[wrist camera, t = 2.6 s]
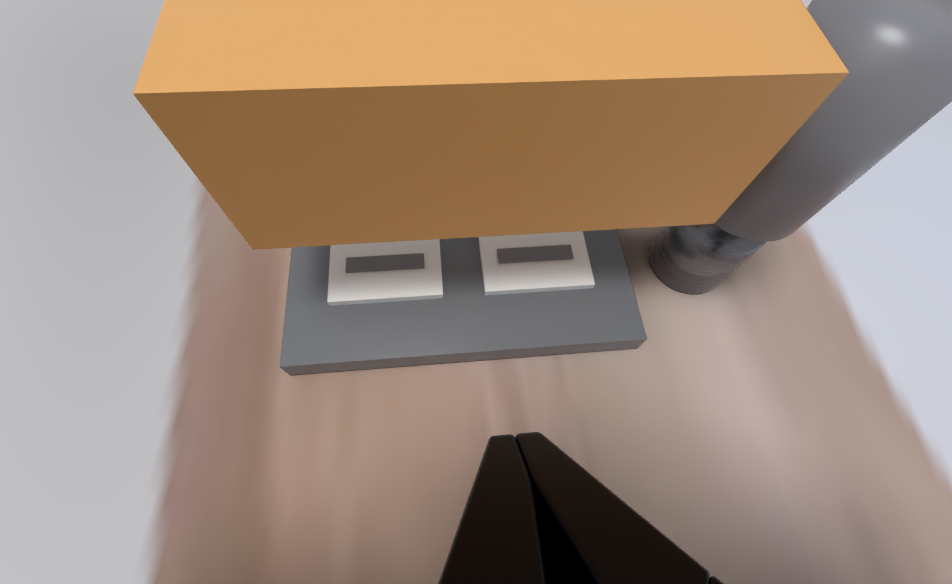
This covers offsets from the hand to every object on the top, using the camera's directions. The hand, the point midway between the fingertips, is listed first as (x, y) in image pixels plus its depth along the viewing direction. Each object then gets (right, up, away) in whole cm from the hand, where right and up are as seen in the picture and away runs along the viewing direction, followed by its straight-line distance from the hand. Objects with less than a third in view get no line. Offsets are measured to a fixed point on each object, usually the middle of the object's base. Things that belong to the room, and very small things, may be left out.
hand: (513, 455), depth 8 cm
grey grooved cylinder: (+8, +4, +11) cm, 14 cm away
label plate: (-1, +3, +10) cm, 11 cm away
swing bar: (+2, +6, +6) cm, 9 cm away
